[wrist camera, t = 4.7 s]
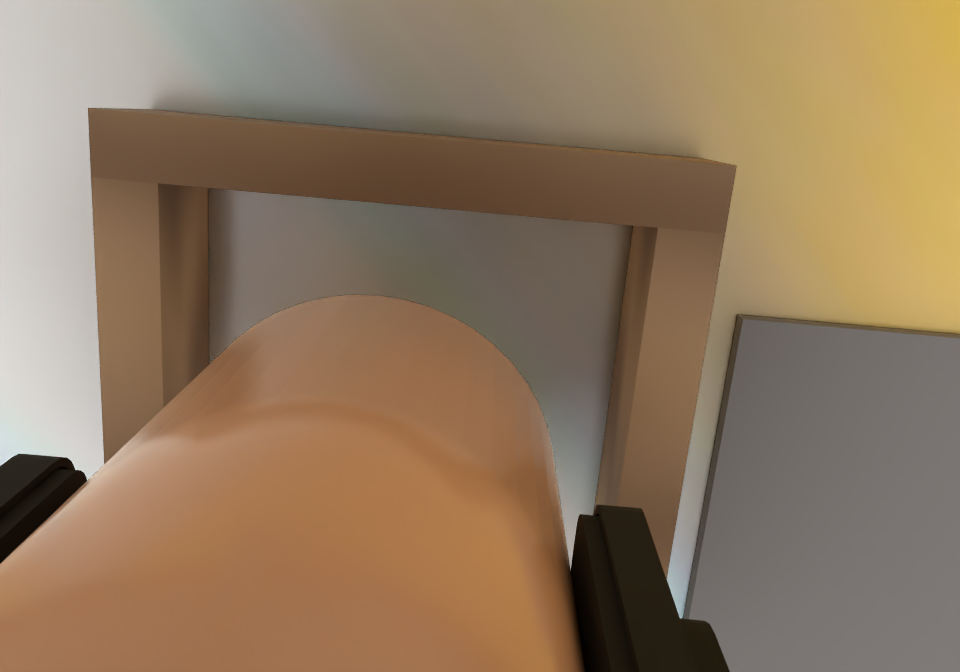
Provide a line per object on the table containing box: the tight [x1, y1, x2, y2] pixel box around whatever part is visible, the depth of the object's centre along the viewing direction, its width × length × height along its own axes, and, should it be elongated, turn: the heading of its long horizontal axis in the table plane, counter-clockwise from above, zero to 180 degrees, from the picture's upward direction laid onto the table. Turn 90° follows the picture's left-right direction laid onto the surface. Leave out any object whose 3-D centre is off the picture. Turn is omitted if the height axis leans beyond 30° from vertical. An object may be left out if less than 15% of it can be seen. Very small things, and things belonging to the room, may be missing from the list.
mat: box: [683, 315, 960, 672], centre depth 18 cm, size 10×10×1 cm
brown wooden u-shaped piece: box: [88, 108, 736, 579], centre depth 17 cm, size 12×11×2 cm
